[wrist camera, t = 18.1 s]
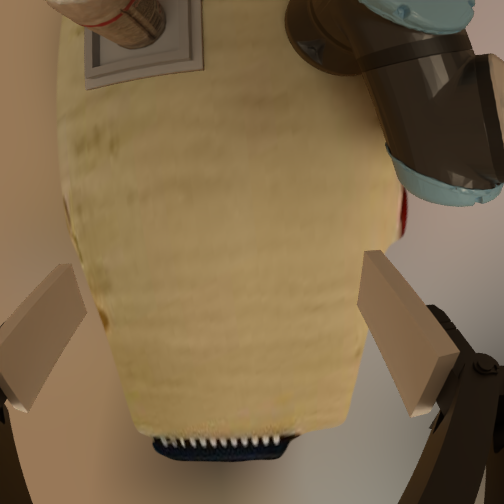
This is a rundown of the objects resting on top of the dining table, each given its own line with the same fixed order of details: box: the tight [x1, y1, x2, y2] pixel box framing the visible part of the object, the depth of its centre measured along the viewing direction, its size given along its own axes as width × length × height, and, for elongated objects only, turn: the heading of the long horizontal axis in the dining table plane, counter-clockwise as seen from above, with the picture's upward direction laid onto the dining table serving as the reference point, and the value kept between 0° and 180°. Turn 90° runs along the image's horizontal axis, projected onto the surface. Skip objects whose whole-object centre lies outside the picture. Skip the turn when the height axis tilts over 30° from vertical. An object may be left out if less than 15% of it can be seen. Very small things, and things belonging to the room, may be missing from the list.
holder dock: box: [84, 0, 204, 90], centre depth 31 cm, size 17×17×4 cm
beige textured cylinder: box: [45, 0, 166, 49], centre depth 23 cm, size 8×8×20 cm
